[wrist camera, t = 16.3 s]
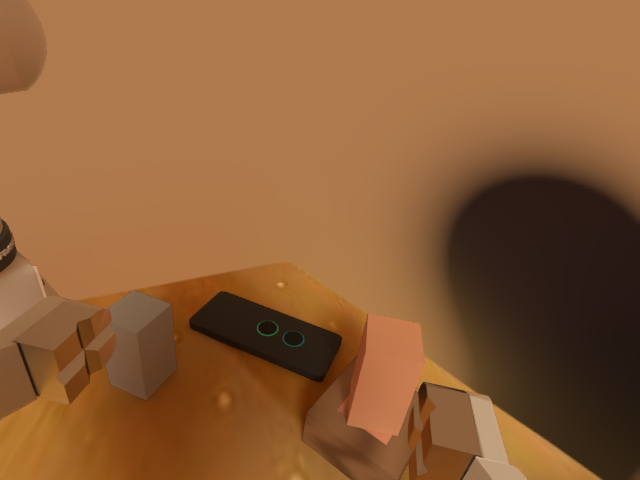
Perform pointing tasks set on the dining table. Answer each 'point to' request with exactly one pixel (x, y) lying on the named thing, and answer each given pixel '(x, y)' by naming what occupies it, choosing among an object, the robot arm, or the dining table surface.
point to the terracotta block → (385, 374)
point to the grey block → (141, 344)
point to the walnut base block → (355, 436)
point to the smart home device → (268, 334)
